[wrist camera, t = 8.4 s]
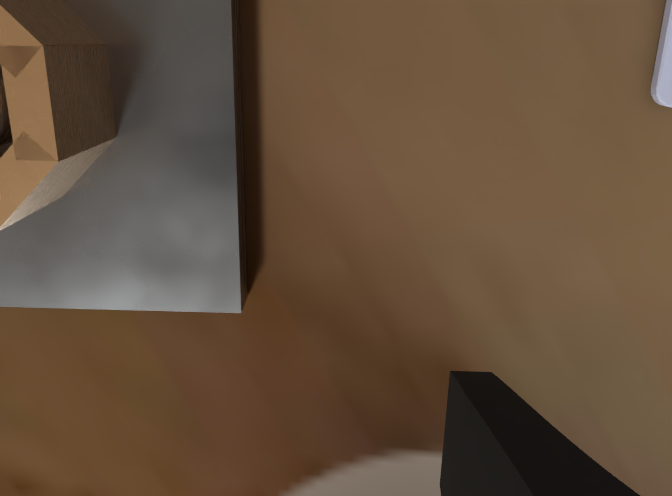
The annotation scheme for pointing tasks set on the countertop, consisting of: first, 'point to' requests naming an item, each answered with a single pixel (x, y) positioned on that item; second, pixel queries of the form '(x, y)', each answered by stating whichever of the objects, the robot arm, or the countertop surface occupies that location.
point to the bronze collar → (50, 103)
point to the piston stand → (147, 174)
